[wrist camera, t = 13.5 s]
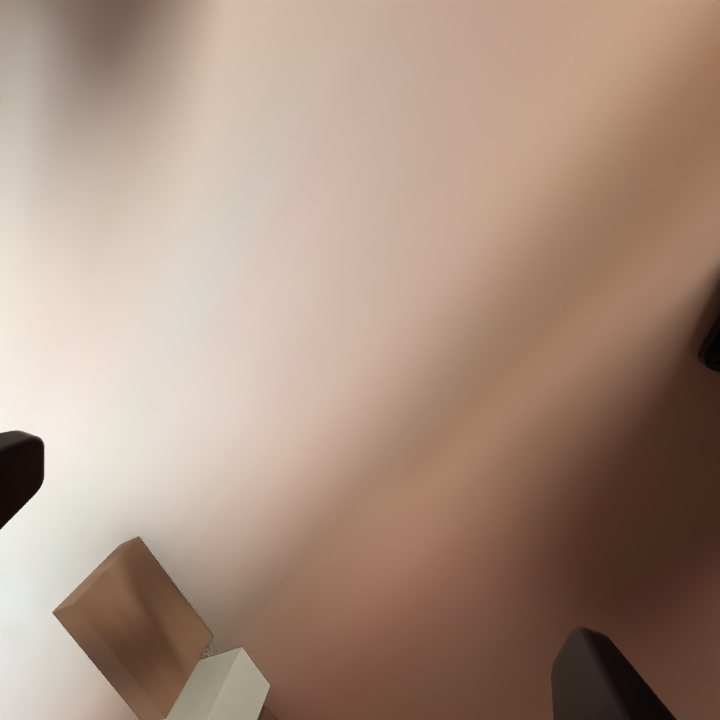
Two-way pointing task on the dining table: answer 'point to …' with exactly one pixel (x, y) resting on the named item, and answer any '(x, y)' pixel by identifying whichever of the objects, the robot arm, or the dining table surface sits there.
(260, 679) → the sage plank
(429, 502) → the dining table surface
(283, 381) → the dining table surface
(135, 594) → the walnut slotted plate
